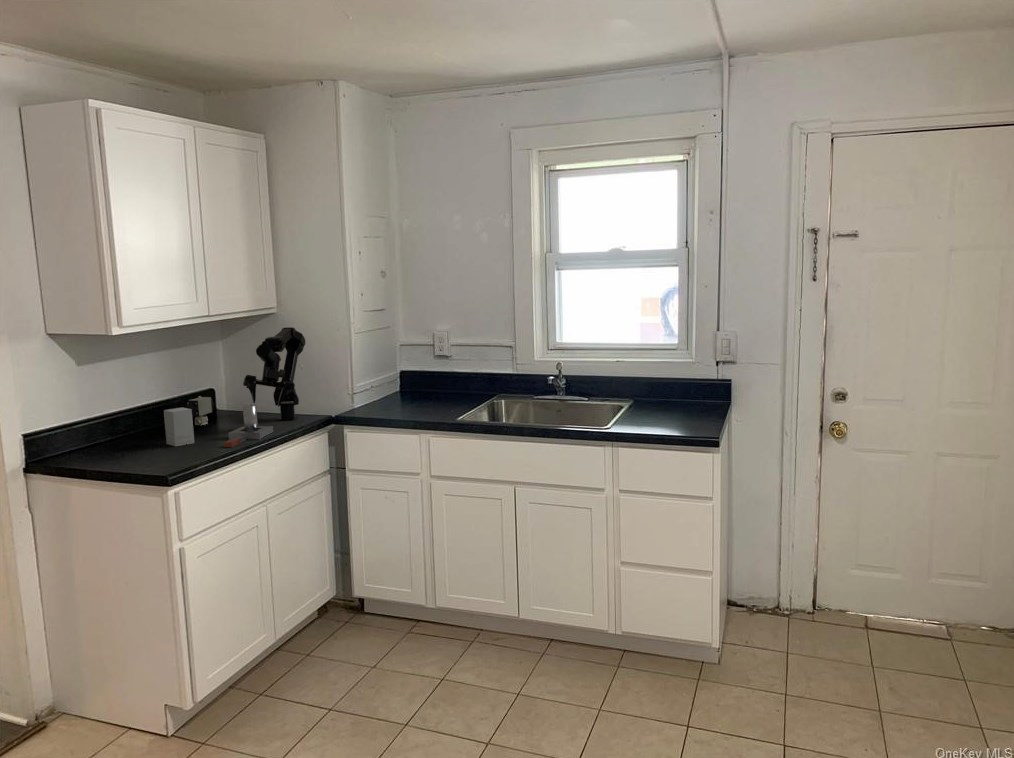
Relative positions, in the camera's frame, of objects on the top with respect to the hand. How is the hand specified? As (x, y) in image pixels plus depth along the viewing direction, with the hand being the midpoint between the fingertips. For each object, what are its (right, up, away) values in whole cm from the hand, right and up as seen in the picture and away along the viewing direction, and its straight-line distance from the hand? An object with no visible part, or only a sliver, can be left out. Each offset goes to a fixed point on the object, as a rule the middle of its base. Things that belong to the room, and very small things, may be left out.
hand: (266, 404), depth 303 cm
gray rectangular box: (-4, -12, -15) cm, 20 cm away
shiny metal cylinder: (-3, -11, -8) cm, 14 cm away
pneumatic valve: (-32, -9, +16) cm, 36 cm away
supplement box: (-25, -14, -19) cm, 34 cm away
